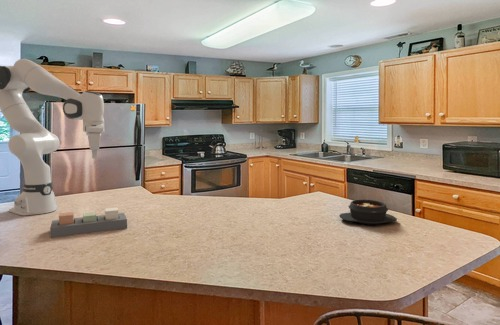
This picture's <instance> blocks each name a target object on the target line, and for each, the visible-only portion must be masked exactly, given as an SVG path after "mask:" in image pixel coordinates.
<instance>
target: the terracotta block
mask: <svg viewBox="0 0 500 325" xmlns="http://www.w3.org/2000/svg"><path fill="white" fill-rule="evenodd" d="M74 218H75V217H74V211H71V212H68V211H67V212H59V214H58V220H59V225H66V224H74Z"/></svg>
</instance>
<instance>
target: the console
mask: <svg viewBox="0 0 500 325" xmlns="http://www.w3.org/2000/svg"><path fill="white" fill-rule="evenodd" d="M118 215H119V219H110V220H105V214H100V215H96V217H97V221H93V222H84V223H83V216H82V217H74V224H66V225H59V219H53V220H51V225H50V227H49V231H50V239H55V238H63V237H64V238H65V237H69V236H70V237H71V236H78V235H80V236H81V235H86V234H94V233H101V232H109V231H110V232H111V231H119V230H125V229H128V219H127V216H126V214H125V212H120V213H119V212H118Z"/></svg>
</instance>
